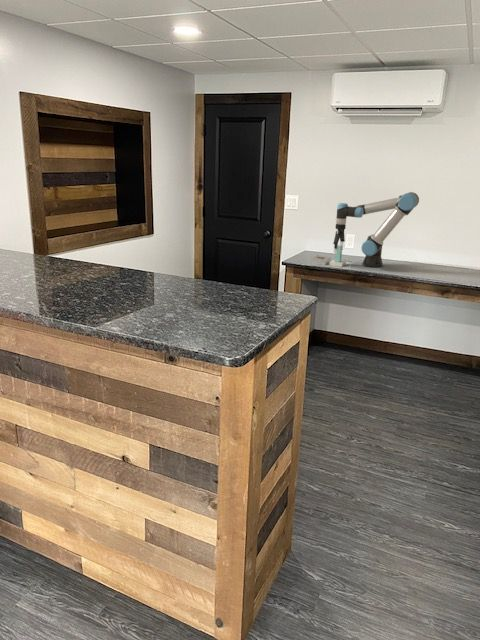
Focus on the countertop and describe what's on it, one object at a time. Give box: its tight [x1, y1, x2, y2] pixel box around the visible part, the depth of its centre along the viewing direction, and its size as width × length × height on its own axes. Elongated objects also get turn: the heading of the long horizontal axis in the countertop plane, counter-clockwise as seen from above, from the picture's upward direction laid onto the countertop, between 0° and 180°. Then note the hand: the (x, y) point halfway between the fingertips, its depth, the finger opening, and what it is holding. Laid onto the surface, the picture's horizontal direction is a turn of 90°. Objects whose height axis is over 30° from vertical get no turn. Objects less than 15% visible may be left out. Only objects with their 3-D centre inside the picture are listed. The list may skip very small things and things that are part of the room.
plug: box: [334, 244, 343, 263], centre depth 394 cm, size 4×4×15 cm
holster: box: [328, 259, 347, 267], centre depth 396 cm, size 10×10×2 cm
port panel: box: [310, 255, 332, 266], centre depth 402 cm, size 12×12×5 cm
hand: (338, 251), depth 393 cm, fingers open, 13 cm apart
